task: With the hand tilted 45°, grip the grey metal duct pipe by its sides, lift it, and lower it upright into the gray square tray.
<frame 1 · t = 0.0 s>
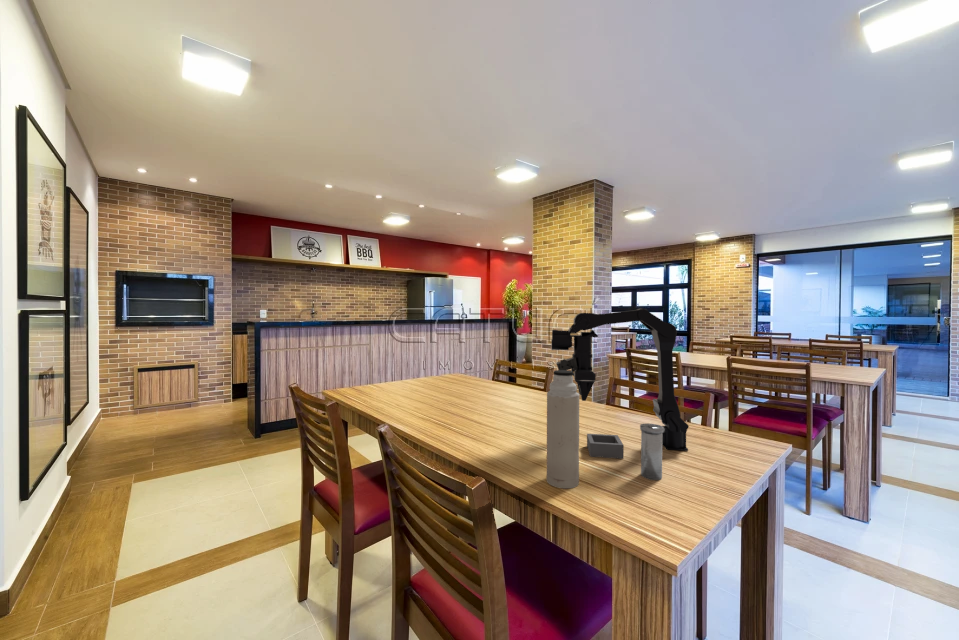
hand: (582, 397, 126), 15 cm above the table, tool pointing down, fingers open, 9 cm apart
duct pipe: (651, 476, 99), on the table
thermos bottle: (562, 482, 96), on the table
gray square tray: (604, 452, 117), on the table
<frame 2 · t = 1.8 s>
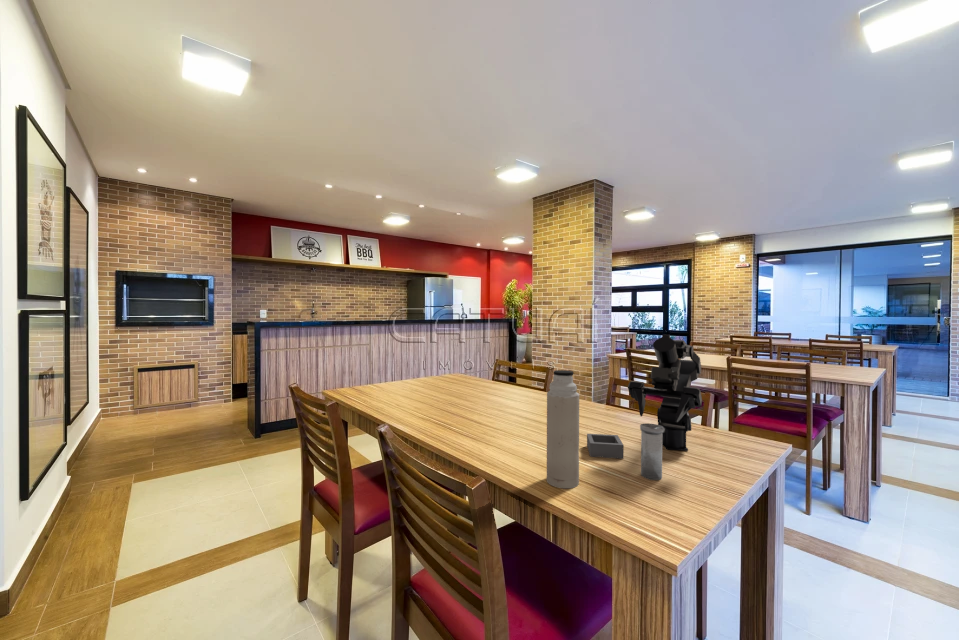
hand: (658, 418, 105), 13 cm above the table, tool tilted 45°, fingers open, 9 cm apart
nothing on the table moved.
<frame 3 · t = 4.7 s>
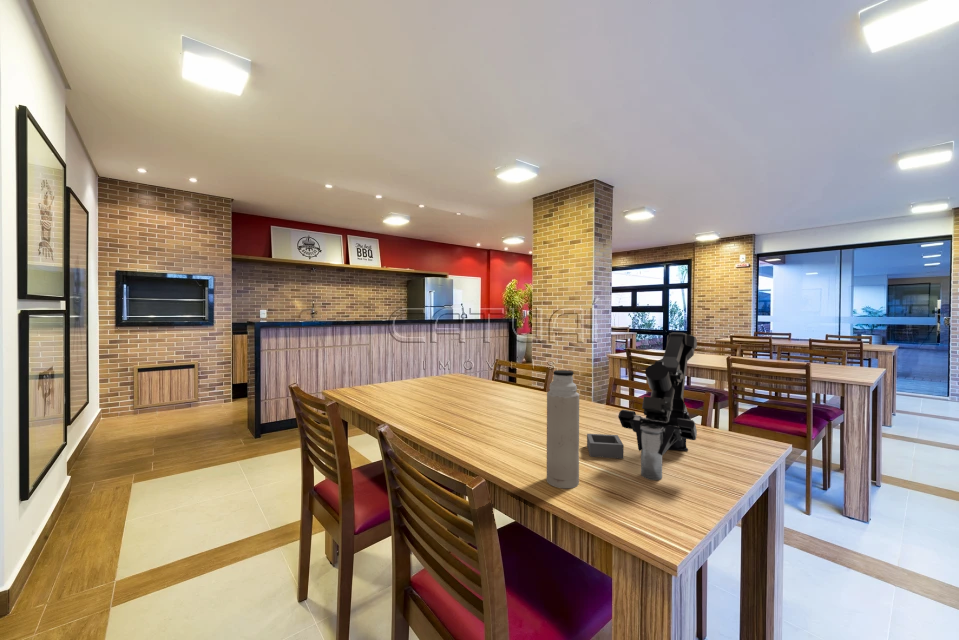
hand: (650, 452, 98), 7 cm above the table, tool tilted 45°, fingers closed on duct pipe, 5 cm apart
duct pipe: (651, 476, 99), on the table, touching gripper
everything else where it was.
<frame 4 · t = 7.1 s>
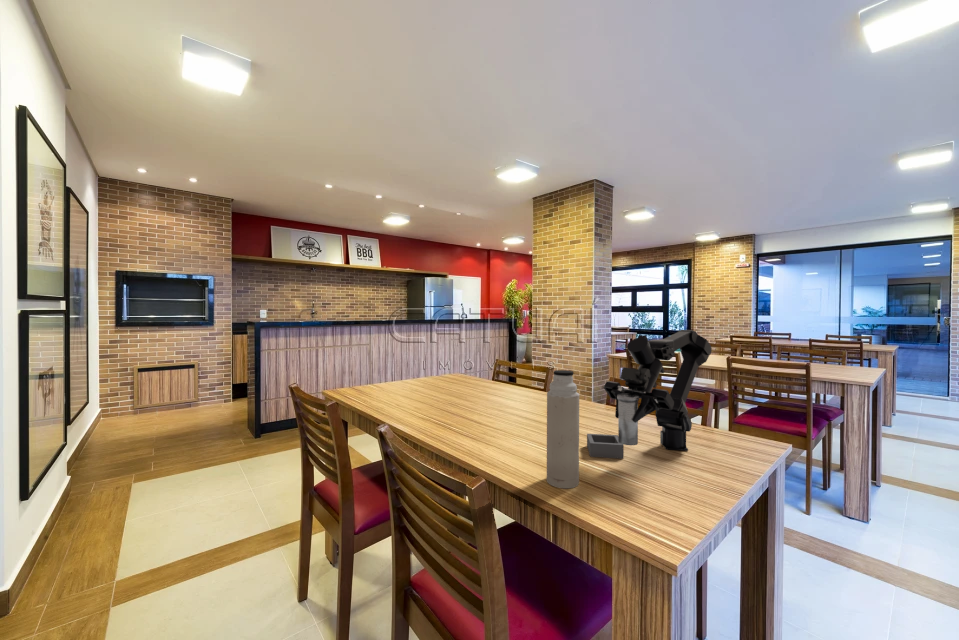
hand: (625, 419, 104), 13 cm above the table, tool tilted 45°, fingers closed on duct pipe, 5 cm apart
duct pipe: (628, 442, 105), point 7 cm above the table, touching gripper
everything else where it was.
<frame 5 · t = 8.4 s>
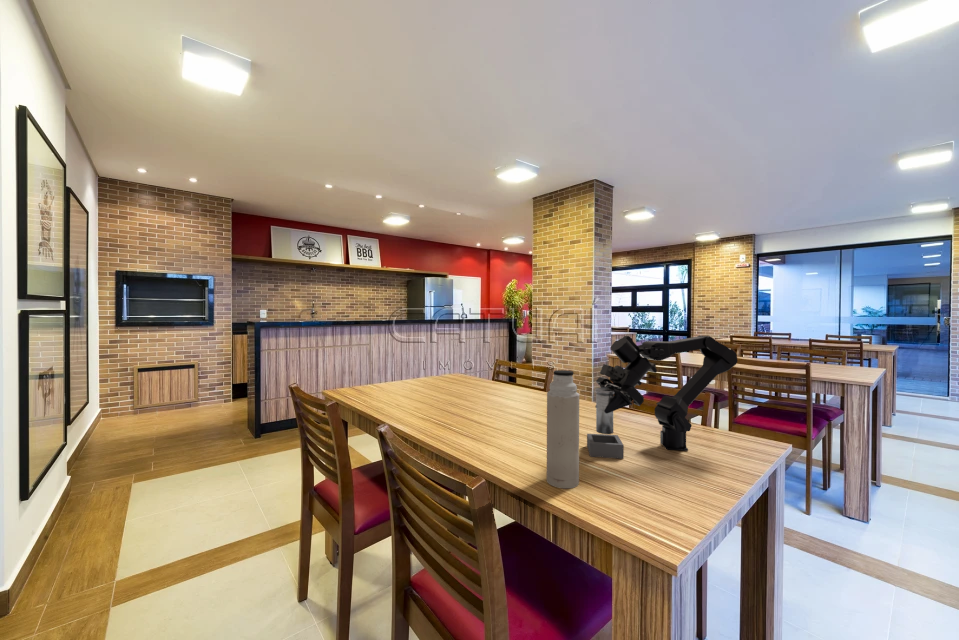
hand: (600, 410, 116), 13 cm above the table, tool tilted 45°, fingers closed on duct pipe, 5 cm apart
duct pipe: (604, 431, 117), point 6 cm above the table, touching gripper
everything else where it was.
when the fingers open (9 cm above the table, at t = 9.5 s): duct pipe drops 3 cm, resting in gray square tray.
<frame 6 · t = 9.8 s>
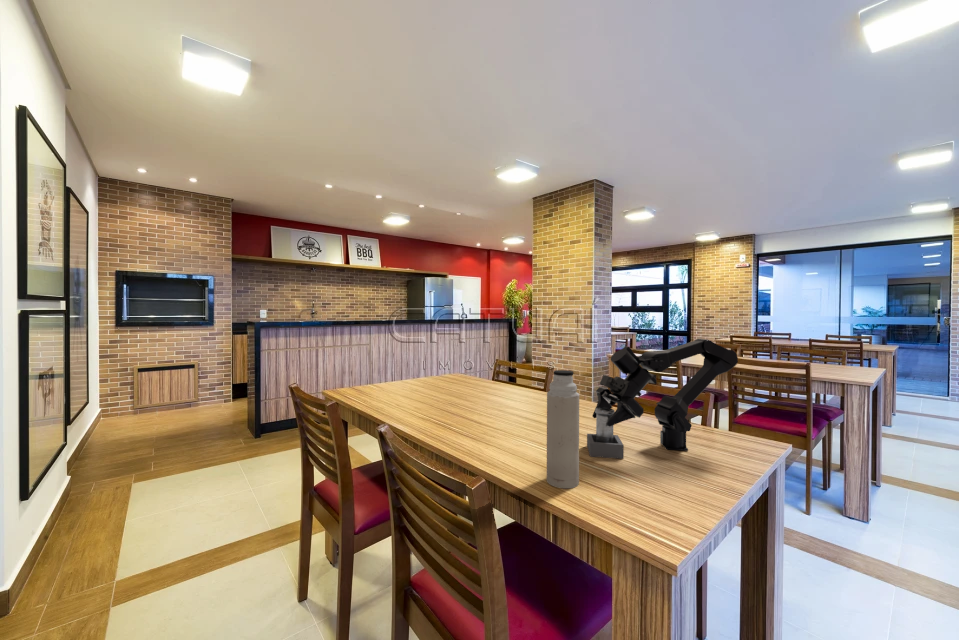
hand: (600, 421, 116), 10 cm above the table, tool tilted 45°, fingers open, 9 cm apart
duct pipe: (604, 452, 117), resting in gray square tray
everything else where it was.
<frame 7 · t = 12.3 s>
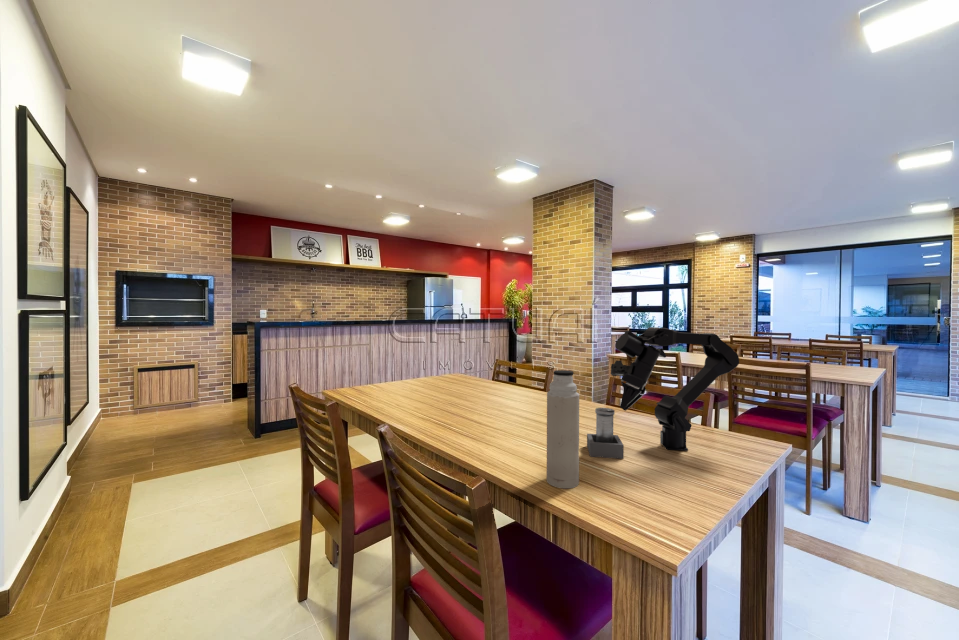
hand: (622, 409, 118), 13 cm above the table, tool tilted 25°, fingers open, 9 cm apart
nothing on the table moved.
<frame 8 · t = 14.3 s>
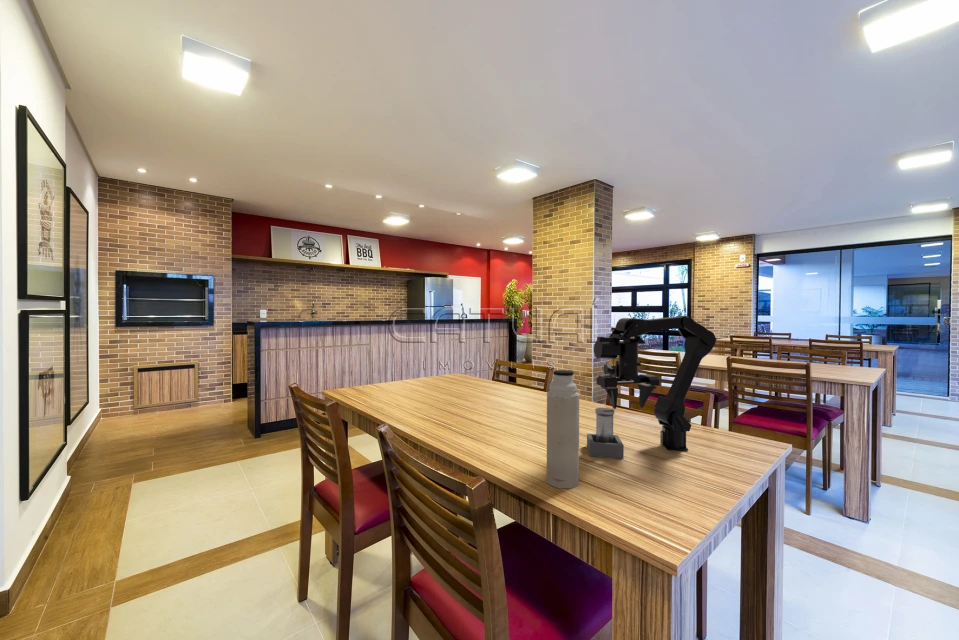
hand: (627, 408, 119), 13 cm above the table, tool pointing down, fingers open, 9 cm apart
nothing on the table moved.
at the end: duct pipe 0.1 cm off-centre on the gray square tray, point 0.0 cm above the gray square tray's base; duct pipe tilted 0°; the gripper is holding nothing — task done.
